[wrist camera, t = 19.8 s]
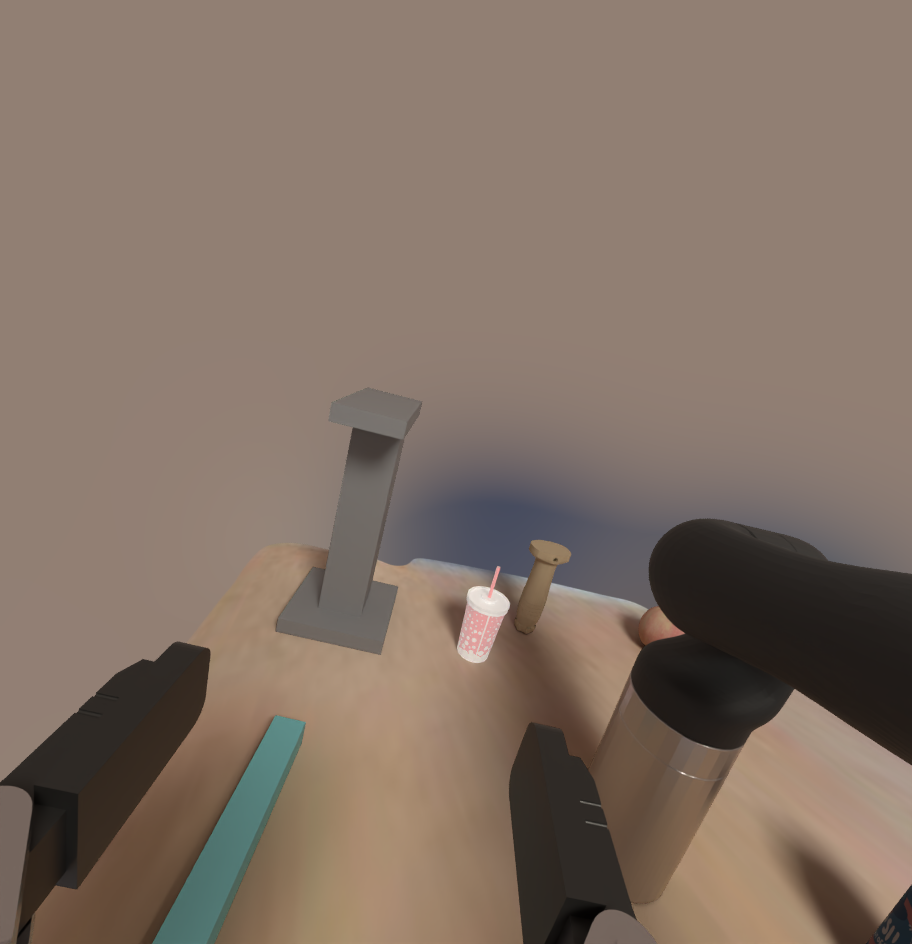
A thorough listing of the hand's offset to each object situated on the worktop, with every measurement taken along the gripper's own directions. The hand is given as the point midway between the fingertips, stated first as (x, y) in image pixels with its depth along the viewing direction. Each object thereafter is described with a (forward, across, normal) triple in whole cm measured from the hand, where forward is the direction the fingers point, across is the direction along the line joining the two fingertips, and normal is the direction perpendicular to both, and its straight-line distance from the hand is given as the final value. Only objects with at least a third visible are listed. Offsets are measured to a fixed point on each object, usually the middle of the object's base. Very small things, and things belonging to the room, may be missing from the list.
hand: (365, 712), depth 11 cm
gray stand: (+45, +8, +32) cm, 56 cm away
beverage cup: (+45, -12, +32) cm, 57 cm away
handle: (+54, -21, +32) cm, 66 cm away
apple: (+56, -45, +32) cm, 79 cm away
